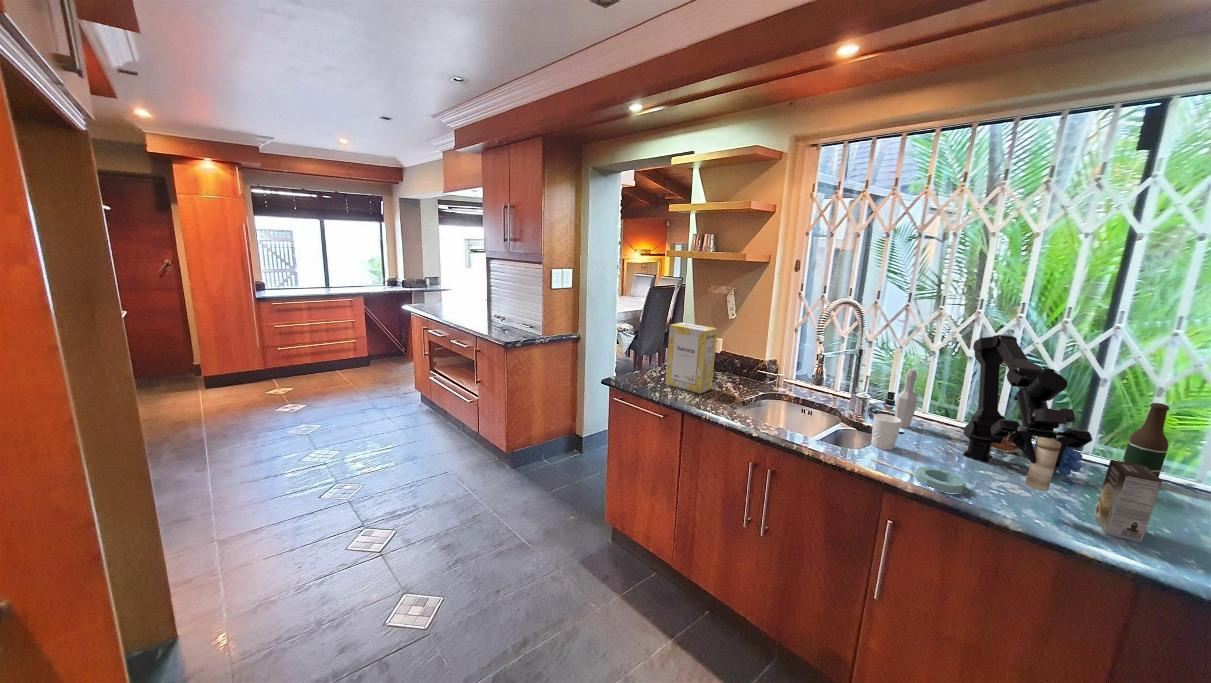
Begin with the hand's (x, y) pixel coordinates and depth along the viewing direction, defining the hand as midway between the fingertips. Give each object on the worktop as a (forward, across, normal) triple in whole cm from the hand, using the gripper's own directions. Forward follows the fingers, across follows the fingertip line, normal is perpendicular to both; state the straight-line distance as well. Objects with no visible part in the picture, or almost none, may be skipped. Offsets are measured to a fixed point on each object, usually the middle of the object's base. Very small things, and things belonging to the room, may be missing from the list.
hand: (1045, 464), depth 115 cm
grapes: (-12, +17, +31) cm, 38 cm away
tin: (-23, +8, +43) cm, 49 cm away
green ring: (+4, -18, +15) cm, 24 cm away
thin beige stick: (0, -28, +19) cm, 34 cm away
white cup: (-12, -28, +32) cm, 44 cm away
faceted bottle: (-29, -17, +49) cm, 60 cm away
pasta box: (-37, -100, +57) cm, 121 cm away
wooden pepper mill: (+4, 0, +6) cm, 7 cm away
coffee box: (+10, +16, +9) cm, 21 cm away
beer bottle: (-16, +41, +36) cm, 57 cm away
